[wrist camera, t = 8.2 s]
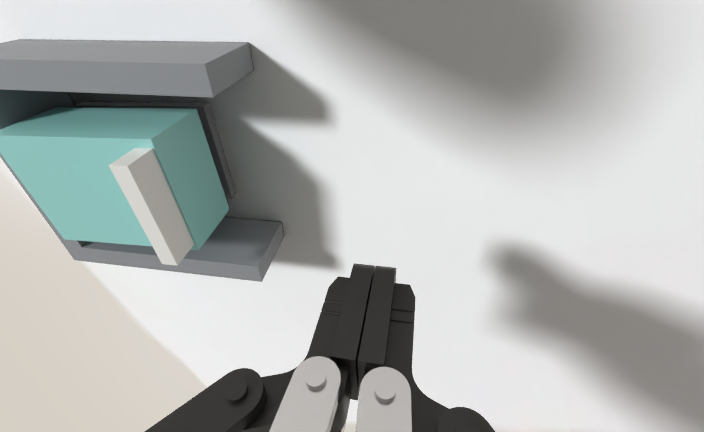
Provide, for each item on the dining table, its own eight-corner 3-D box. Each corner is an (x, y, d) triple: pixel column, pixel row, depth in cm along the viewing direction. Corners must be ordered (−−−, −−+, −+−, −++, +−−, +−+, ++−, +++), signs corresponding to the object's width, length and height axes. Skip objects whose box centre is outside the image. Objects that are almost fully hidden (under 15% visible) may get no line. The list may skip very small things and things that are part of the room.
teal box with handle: (211, 98, 17) (124, 156, 12) (240, 195, 21) (182, 271, 16) (78, 98, 19) (-51, 150, 14) (126, 189, 22) (39, 258, 17)
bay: (248, 42, 15) (204, 64, 12) (284, 236, 22) (261, 281, 19) (20, 39, 17) (-71, 57, 14) (119, 220, 24) (74, 260, 21)
